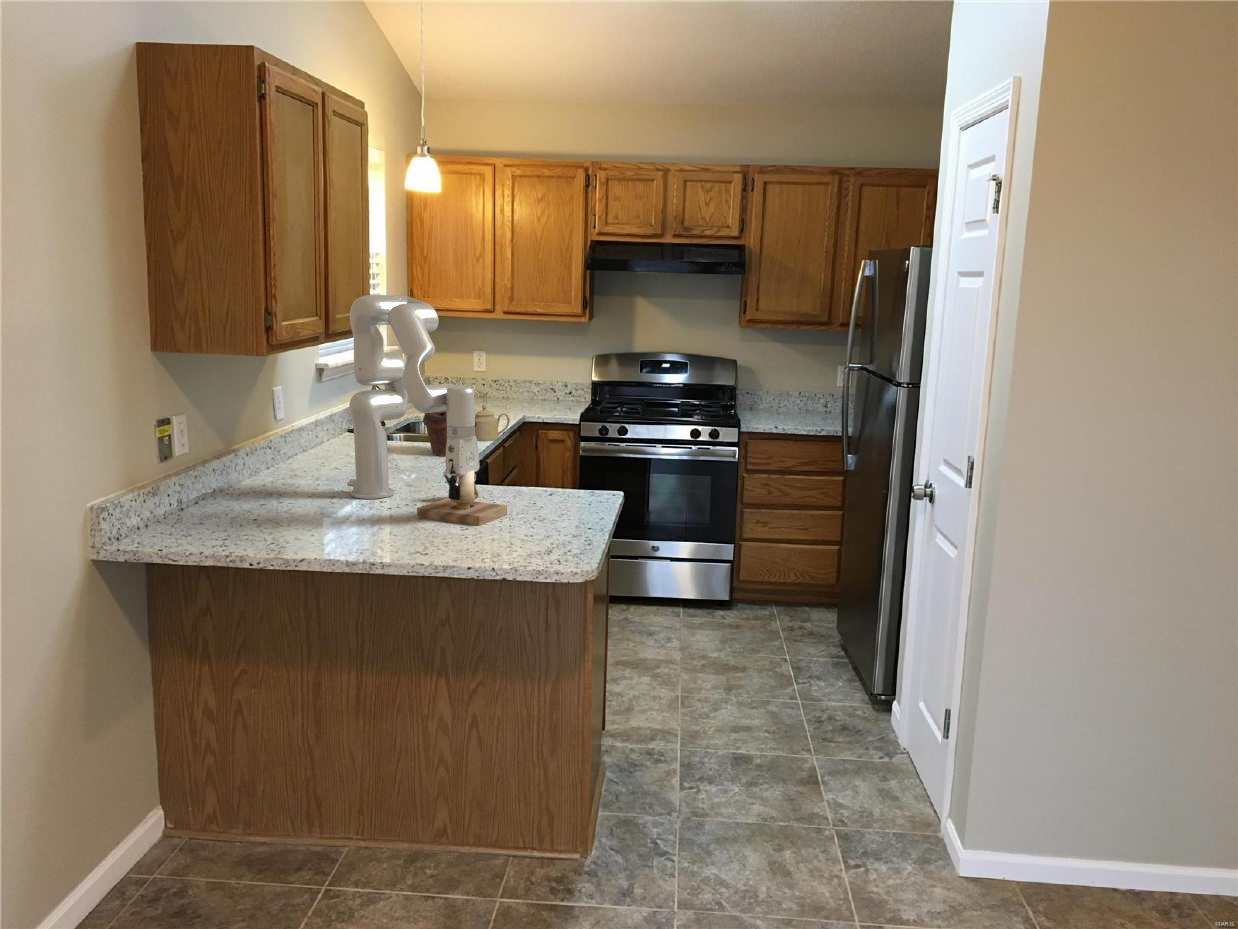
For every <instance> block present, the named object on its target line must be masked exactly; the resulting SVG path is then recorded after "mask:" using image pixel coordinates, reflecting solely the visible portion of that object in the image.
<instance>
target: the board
mask: <svg viewBox="0 0 1238 929" xmlns="http://www.w3.org/2000/svg"><path fill="white" fill-rule="evenodd" d="M416 513H417V514H416V517H417V518H420V519H428V520H434V521H442V522H450V523H459V524H464V525H465V524H466V525H470V526H471V525H472V526H482V525H485V524H487V523H489V522H492V521H494V520H497V519H500V518H502V517H505V516H508V505H507V504H505V505H504V504H497V503H488V502H481V501H475V500H474V501H473V502H470V508H468V509H466V510H464V509H456V503H454V502H451V499H449V497H446V498H444V499H443V498H442V499H441V500H438V501H434V502H430V503H428V504H425V505H423V506H420V507H417V508H416Z"/></svg>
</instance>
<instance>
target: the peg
mask: <svg viewBox="0 0 1238 929" xmlns="http://www.w3.org/2000/svg"><path fill="white" fill-rule="evenodd" d="M452 473H454V474H456V472H452ZM453 478H454V479H456V476H453ZM474 481H475V480H474V470H472V471H469V472H467V474H466V475H463V476H460V480H459V485H460V500H453V499H451V502H454V503H456V509H464V510H466V509H468V508H470V502H473V501H474V502H475V499H476V498H474Z"/></svg>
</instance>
